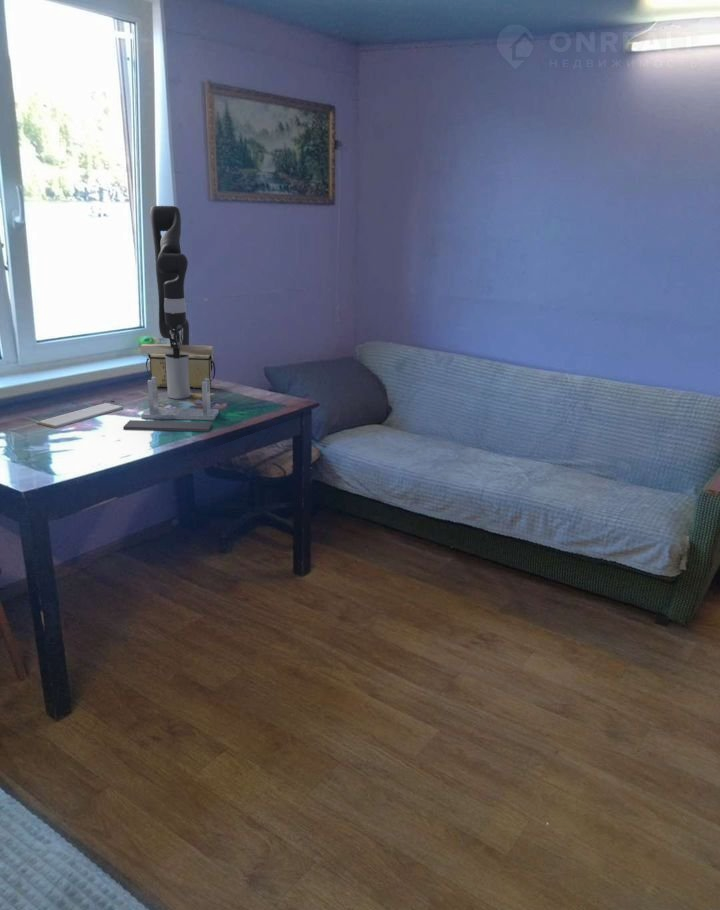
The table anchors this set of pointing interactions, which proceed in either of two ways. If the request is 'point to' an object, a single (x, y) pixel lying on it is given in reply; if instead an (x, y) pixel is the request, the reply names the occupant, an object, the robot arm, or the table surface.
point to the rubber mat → (168, 425)
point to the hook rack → (179, 413)
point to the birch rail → (183, 349)
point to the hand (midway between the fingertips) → (177, 357)
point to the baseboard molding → (80, 415)
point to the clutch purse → (197, 369)
